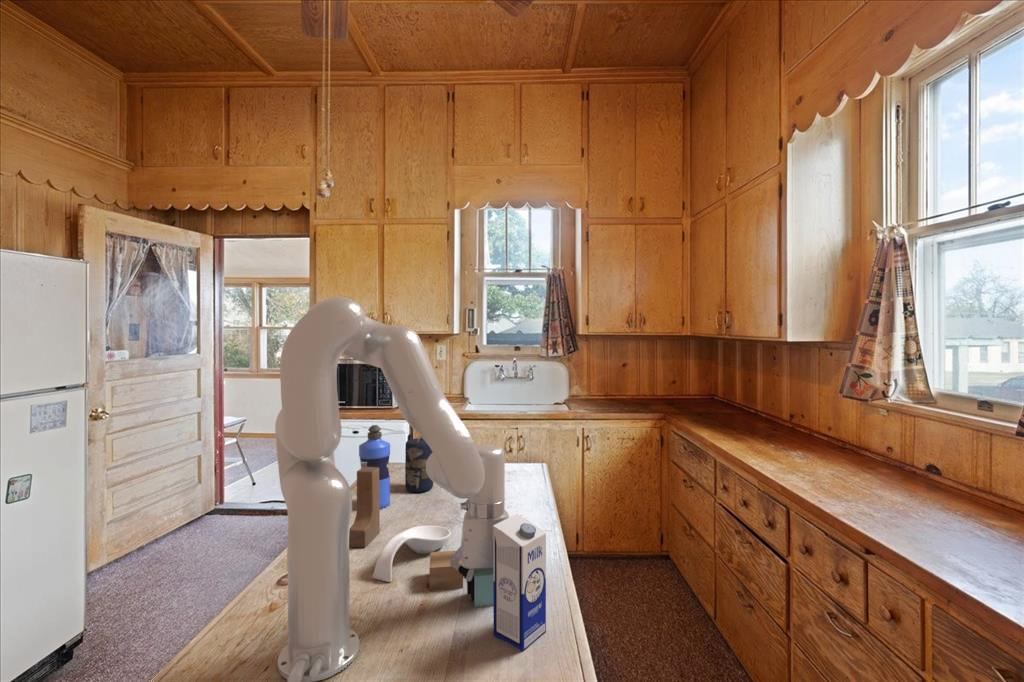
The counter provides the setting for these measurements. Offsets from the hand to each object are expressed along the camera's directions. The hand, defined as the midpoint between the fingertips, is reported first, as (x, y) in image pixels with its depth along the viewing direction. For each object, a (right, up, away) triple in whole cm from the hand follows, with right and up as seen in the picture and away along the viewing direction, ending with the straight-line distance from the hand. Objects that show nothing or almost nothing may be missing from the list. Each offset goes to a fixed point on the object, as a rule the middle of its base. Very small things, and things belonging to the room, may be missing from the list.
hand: (486, 594), depth 95 cm
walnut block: (-9, -1, +7) cm, 11 cm away
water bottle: (-38, 0, +51) cm, 64 cm away
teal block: (0, -1, 0) cm, 1 cm away
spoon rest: (-18, -1, +17) cm, 25 cm away
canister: (-27, 0, +66) cm, 71 cm away
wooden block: (-33, 0, +27) cm, 42 cm away
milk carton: (+7, -1, -11) cm, 13 cm away
